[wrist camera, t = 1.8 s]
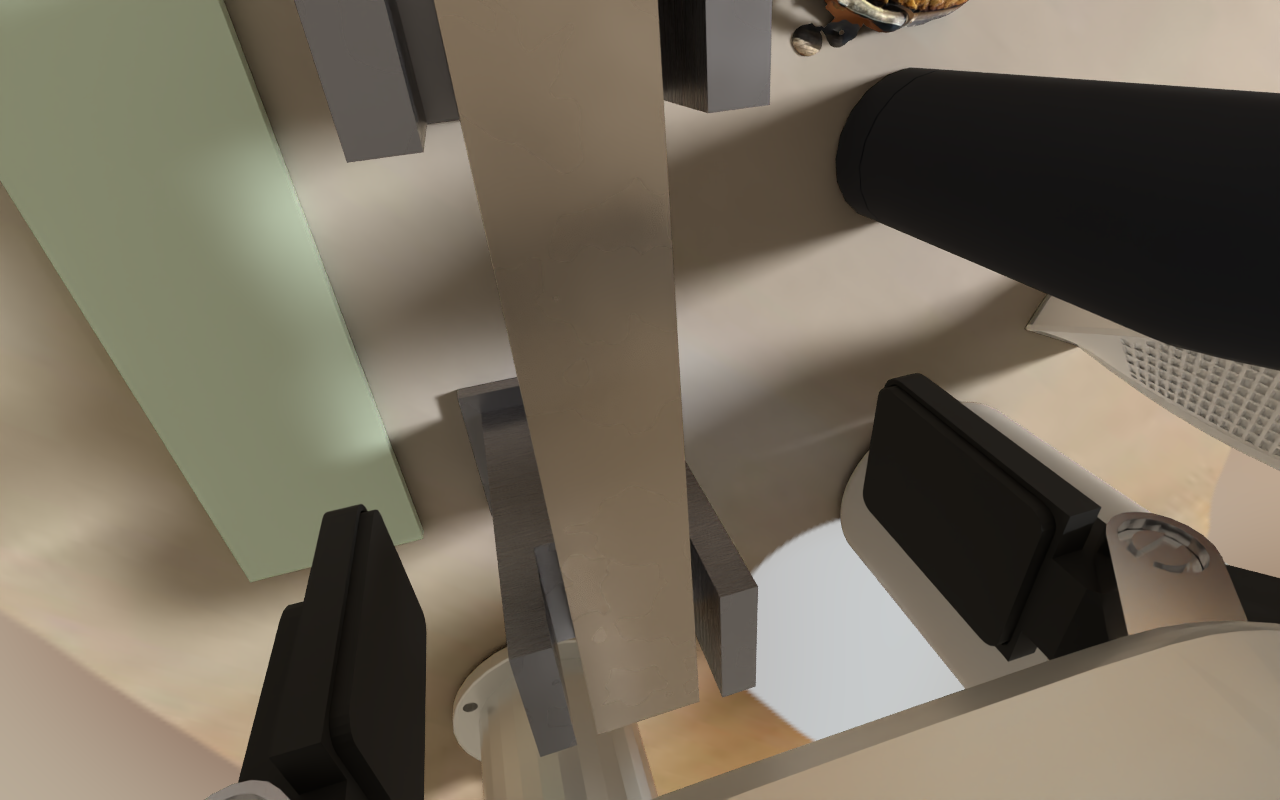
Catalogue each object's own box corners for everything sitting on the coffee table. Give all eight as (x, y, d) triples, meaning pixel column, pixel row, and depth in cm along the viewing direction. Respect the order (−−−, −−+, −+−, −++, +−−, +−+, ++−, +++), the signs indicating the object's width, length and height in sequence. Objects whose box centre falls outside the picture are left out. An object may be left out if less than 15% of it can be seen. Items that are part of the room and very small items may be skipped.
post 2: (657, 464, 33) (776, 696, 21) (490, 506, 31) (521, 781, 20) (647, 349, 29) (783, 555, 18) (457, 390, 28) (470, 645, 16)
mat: (423, 530, 31) (423, 538, 30) (253, 573, 29) (250, 582, 29) (168, -146, 17) (160, -151, 17) (-177, -130, 16) (-196, -135, 15)
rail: (666, 619, 24) (699, 701, 21) (577, 645, 23) (597, 735, 20) (585, -232, 11) (637, -327, 8) (381, -228, 11) (360, -329, 8)
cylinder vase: (973, 357, 36) (1713, 803, 15) (1025, 470, 42) (1582, 885, 22) (802, 489, 37) (1256, 1058, 17) (879, 578, 44) (1268, 1059, 23)
